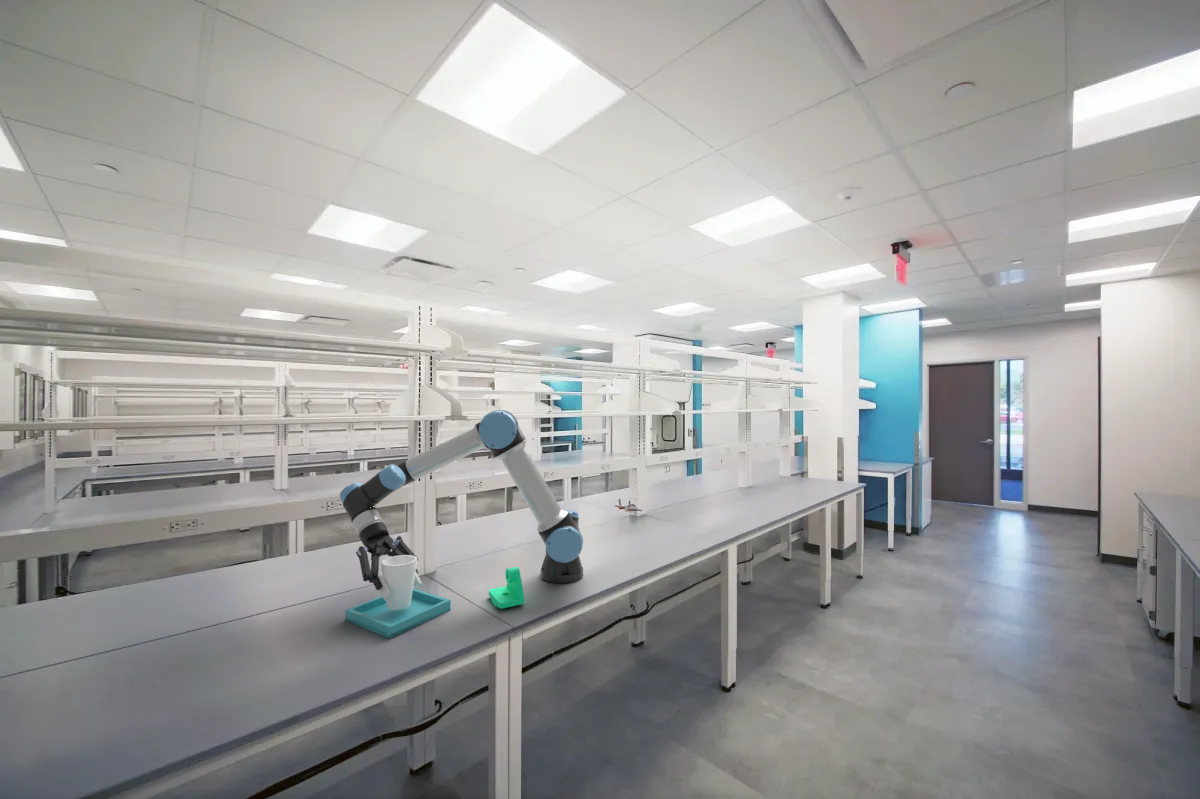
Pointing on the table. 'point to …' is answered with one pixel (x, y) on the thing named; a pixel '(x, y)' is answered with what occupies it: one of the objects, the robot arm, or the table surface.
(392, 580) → the foam cup
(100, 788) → the table surface
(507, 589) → the camera mount
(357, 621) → the teal tray
